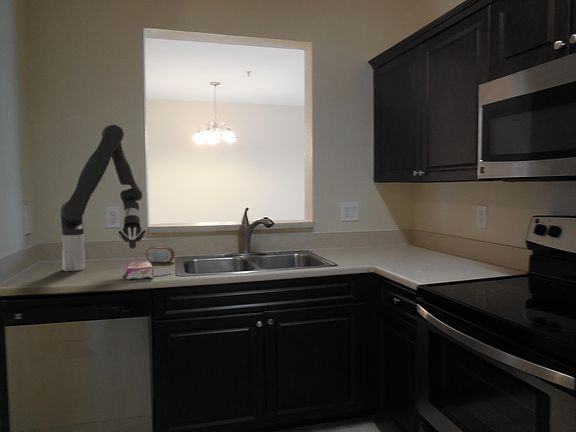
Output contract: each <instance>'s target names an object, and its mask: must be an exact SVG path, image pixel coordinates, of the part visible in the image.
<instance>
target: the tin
mask: <svg viewBox="0 0 576 432" xmlns="http://www.w3.org/2000/svg"><path fill="white" fill-rule="evenodd" d="M145 258H146V259H147V261H150V262H151V263H159V264H160V263H161V264H164V263H165V264H167V263H169V262H172V261H173V260H174V258H175V250H174V249H173V248H171V247H169V246H156V245H155V246H151V247H149V248H148V249H147V250H146V252H145Z"/></svg>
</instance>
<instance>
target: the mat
mask: <svg viewBox="0 0 576 432" xmlns="http://www.w3.org/2000/svg"><path fill="white" fill-rule="evenodd" d="M169 275H171V276H172V275H173V273H172V272H170V271H167V270H163V269H161V270H156V271H154V270H153V277H152V278H156V277H162V276H163V277H164V276H169ZM141 279H142V280H143V279H144V278H138V279H134V280H141Z"/></svg>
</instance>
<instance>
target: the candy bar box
mask: <svg viewBox="0 0 576 432" xmlns="http://www.w3.org/2000/svg"><path fill="white" fill-rule="evenodd" d="M153 272H154V267H153V264H152V262H150V261H149V260H147V261H145V260H143V261H142V260H141V261H128V262H125V276H126V280H132V279H133V280H135V279H137V280H139V279H138V278H143V279H148V278H149V279H150V278H151V279H152V278H154V277H153Z"/></svg>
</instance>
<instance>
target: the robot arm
mask: <svg viewBox="0 0 576 432" xmlns="http://www.w3.org/2000/svg"><path fill="white" fill-rule="evenodd" d="M123 139H124V129H123V128H122V127H121V126H120V125H117V124H108V125H107V126H105V127H104V128H103V130H102V132H101V140H100V141H99V144H98V146H97V148H96V149H95V150H94V152H93V153H91V155H90V157H89V158H88V160H87V161H86V163H85V165H84V166H83V168H82V170H81V173H80V175H79V177H78V179H77V184H76V186H75V190H74V191H73V193H72V194H71V197H70V198H69V199H68V200H67V201H65V202H64V203H63V204H62V205H61V207H60V219H61V220H60V221H61V222H60V224H61V231H62V232H61V233H62V234H61V235H62V250H61V260H62V262H61V263H62V265H61V266H62V270H63V271H65V272H77V271H82V270H85V269H86V260H85V258H86V256H85V254H86V252H85V229H84V224H83V216H84V214H85V211H86V208H87V205H88V203H89V201H90V199H91V196H92V194H93V193H94V192H95V191H96V189H97V187H98V186H99V184H100V182H101V181H102V179H103V177H104V174H105V172H106V170H107V169H108V166H109V164H110V161H111V159H112V163H113V164H114V168H115V171H116V174H117V179H118V182H119V184H120V185H122V186H130V187H131V188H127V189H126V188H125V189H123V190H122V191H120V194H119V196H120V199H121V202H122V204H123V228H122V230H118V232H117V234H118V236H119V237H120V239H121V240H122V241H124V242H126V243H127V242H128V246H129V248H130V249H131V250H133V249H135V248H136V247H137V245H136V244H137V242H140V241H141V240H142V239H143V238H144V237H145V236H146V234H147V231H146V229H142V227H141V215H140V205H139V203H138V201H141V200H142V199H143V192H142V189H141V188H140V187H139V186H138V184H137V183H136V181H135V178H134V175H133V172H132V168H131V166H130V164H129V161H128V159H127V157H126V156H125V153H124V151H123V146H122V141H123Z"/></svg>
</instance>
